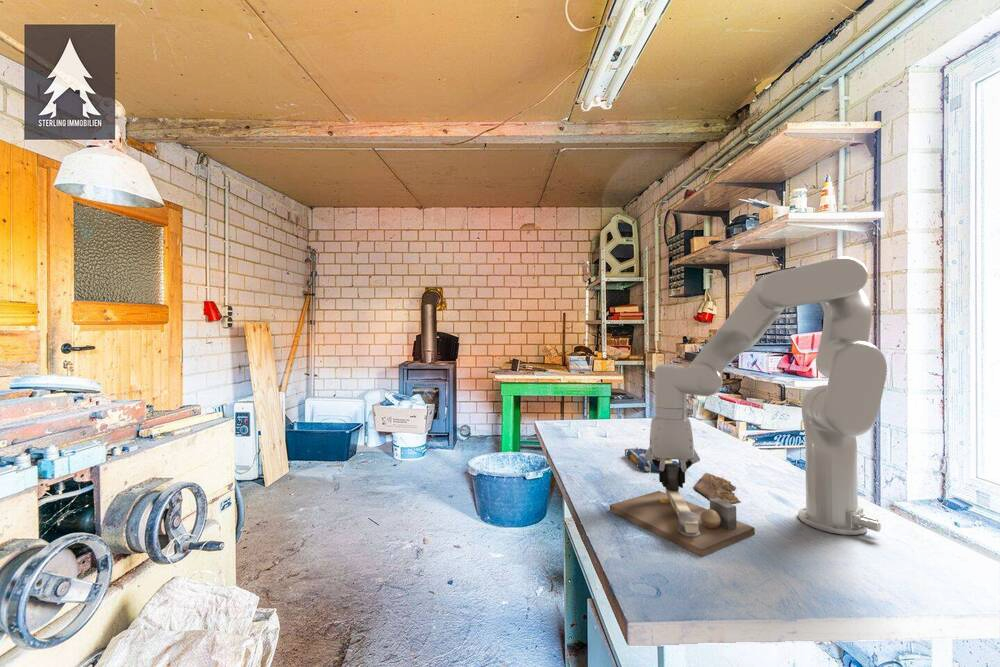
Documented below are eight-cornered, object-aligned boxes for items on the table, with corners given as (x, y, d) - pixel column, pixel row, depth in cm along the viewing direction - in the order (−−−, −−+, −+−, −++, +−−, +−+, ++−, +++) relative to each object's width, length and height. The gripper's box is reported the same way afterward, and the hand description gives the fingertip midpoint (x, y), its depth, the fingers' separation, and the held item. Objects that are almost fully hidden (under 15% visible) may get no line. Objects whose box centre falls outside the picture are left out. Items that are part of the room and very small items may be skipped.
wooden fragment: (742, 509, 110) (742, 505, 110) (694, 503, 114) (694, 499, 114) (731, 476, 134) (730, 473, 134) (691, 473, 138) (691, 469, 138)
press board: (754, 534, 96) (754, 504, 96) (702, 556, 87) (701, 524, 87) (659, 496, 119) (658, 472, 119) (609, 510, 110) (609, 485, 110)
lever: (702, 535, 91) (702, 495, 91) (682, 534, 92) (681, 494, 92) (678, 495, 113) (678, 463, 113) (662, 495, 113) (662, 462, 113)
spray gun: (664, 454, 157) (623, 456, 157) (664, 443, 157) (623, 445, 157) (691, 475, 136) (644, 478, 136) (691, 462, 136) (643, 464, 136)
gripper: (701, 411, 113) (702, 482, 113) (635, 410, 116) (636, 479, 116) (710, 417, 106) (711, 492, 106) (639, 415, 109) (640, 489, 109)
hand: (672, 484), depth 111 cm, fingers closed on lever, 3 cm apart
